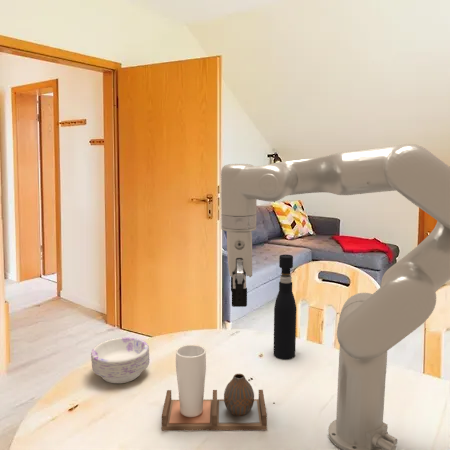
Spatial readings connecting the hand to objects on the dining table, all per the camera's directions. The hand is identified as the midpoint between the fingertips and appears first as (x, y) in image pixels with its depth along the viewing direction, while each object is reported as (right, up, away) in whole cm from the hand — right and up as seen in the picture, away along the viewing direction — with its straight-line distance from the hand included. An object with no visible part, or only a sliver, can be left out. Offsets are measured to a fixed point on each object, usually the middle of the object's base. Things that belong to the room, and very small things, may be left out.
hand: (238, 298), depth 107 cm
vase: (0, -27, +5) cm, 27 cm away
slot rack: (-5, -28, +5) cm, 29 cm away
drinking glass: (-11, -27, +5) cm, 29 cm away
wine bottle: (+15, -22, +37) cm, 45 cm away
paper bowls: (-31, -25, +24) cm, 47 cm away
